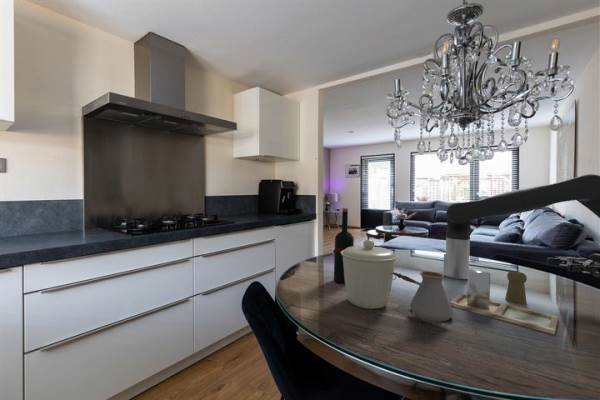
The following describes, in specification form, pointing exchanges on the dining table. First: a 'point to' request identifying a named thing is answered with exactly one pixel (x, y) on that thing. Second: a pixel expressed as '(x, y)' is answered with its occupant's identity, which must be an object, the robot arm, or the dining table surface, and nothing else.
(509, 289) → the olive brown pepper mill
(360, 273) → the canister
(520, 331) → the dining table surface
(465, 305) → the wooden tray
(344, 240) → the wine bottle
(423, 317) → the coffee pot
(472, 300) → the clear glass tumbler
